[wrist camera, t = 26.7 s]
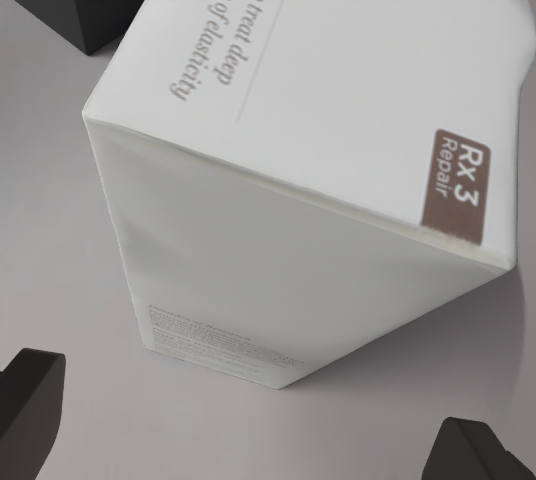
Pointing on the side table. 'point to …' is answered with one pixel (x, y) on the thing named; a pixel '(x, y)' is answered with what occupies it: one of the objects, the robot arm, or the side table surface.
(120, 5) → the dark gray box
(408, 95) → the cosmetic box
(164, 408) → the side table surface
